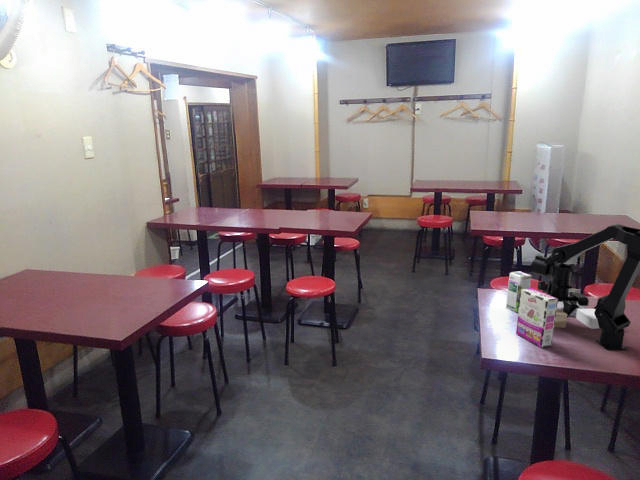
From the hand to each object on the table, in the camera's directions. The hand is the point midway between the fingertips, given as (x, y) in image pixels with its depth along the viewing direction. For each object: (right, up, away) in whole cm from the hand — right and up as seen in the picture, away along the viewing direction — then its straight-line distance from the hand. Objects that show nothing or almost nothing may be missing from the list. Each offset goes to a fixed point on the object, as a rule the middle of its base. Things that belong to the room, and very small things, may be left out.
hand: (555, 321), depth 161 cm
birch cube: (0, -1, 0) cm, 1 cm away
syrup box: (-8, +2, +14) cm, 16 cm away
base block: (+15, -1, +1) cm, 15 cm away
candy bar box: (-13, -4, -11) cm, 18 cm away
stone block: (+11, +2, +13) cm, 17 cm away
